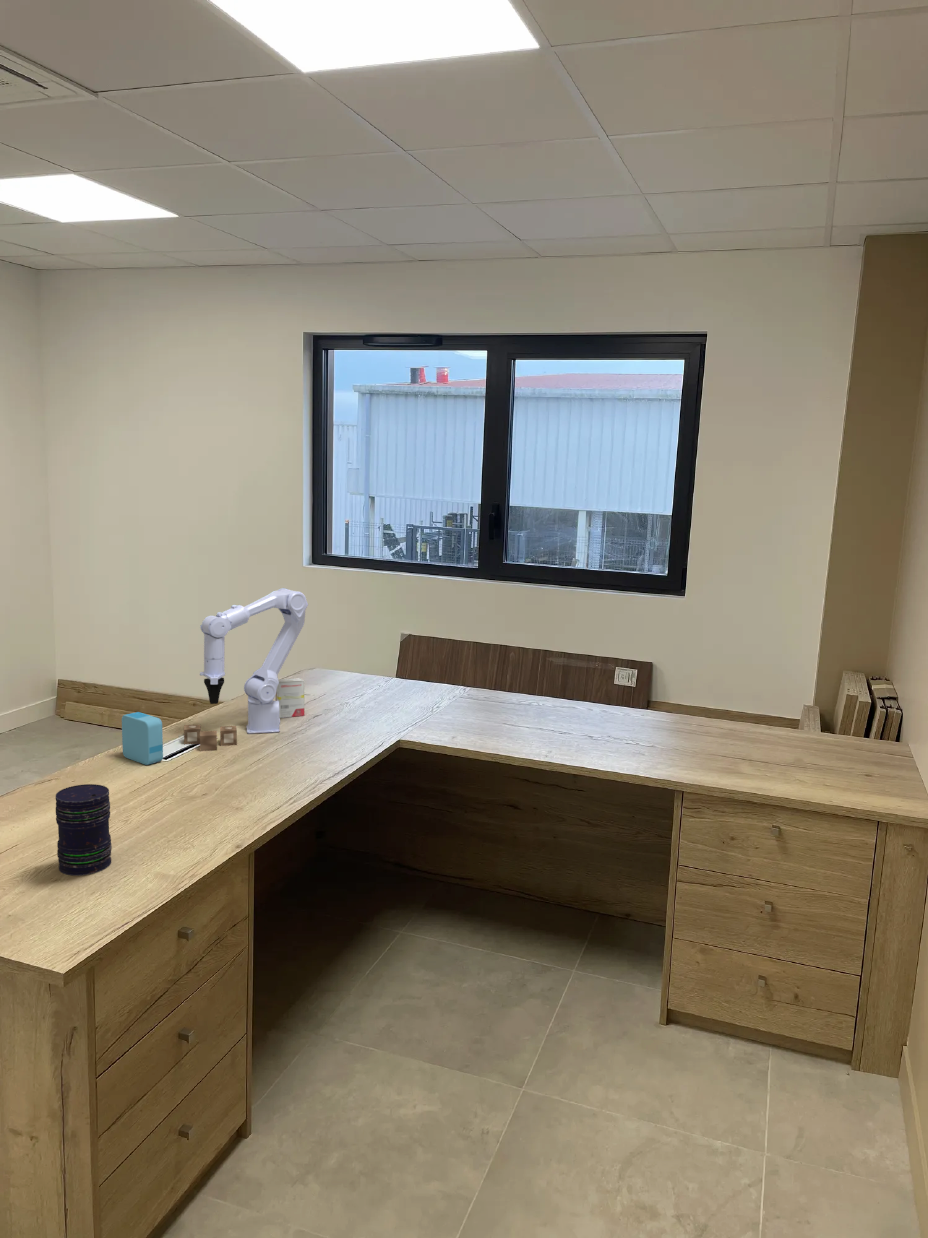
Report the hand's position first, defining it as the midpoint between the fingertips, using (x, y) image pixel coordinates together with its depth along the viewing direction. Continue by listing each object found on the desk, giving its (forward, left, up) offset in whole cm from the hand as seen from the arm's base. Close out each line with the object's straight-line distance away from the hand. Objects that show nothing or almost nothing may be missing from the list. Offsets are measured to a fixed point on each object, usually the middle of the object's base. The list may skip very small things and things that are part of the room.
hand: (214, 703), depth 258 cm
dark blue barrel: (+25, +82, -11) cm, 86 cm away
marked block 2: (-4, +6, -11) cm, 13 cm away
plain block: (+2, +10, -11) cm, 14 cm away
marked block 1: (+6, +3, -11) cm, 13 cm away
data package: (+19, +17, -11) cm, 27 cm away
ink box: (-23, -21, -11) cm, 33 cm away
